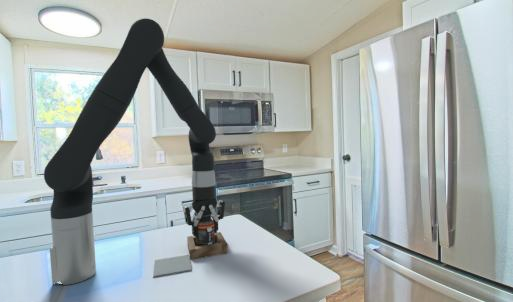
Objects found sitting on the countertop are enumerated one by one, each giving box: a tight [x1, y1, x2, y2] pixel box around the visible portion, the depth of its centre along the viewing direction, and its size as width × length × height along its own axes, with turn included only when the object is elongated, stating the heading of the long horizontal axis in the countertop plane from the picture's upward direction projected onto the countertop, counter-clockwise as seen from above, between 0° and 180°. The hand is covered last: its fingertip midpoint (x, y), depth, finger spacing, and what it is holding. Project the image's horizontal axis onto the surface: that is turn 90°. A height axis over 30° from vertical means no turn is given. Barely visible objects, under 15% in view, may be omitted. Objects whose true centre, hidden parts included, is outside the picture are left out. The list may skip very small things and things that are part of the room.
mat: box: [152, 254, 193, 279], centre depth 78 cm, size 10×10×1 cm
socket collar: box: [186, 231, 229, 261], centre depth 89 cm, size 12×12×3 cm
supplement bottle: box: [196, 214, 216, 247], centre depth 89 cm, size 6×6×11 cm
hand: (205, 234), depth 89 cm, fingers closed on supplement bottle, 6 cm apart
